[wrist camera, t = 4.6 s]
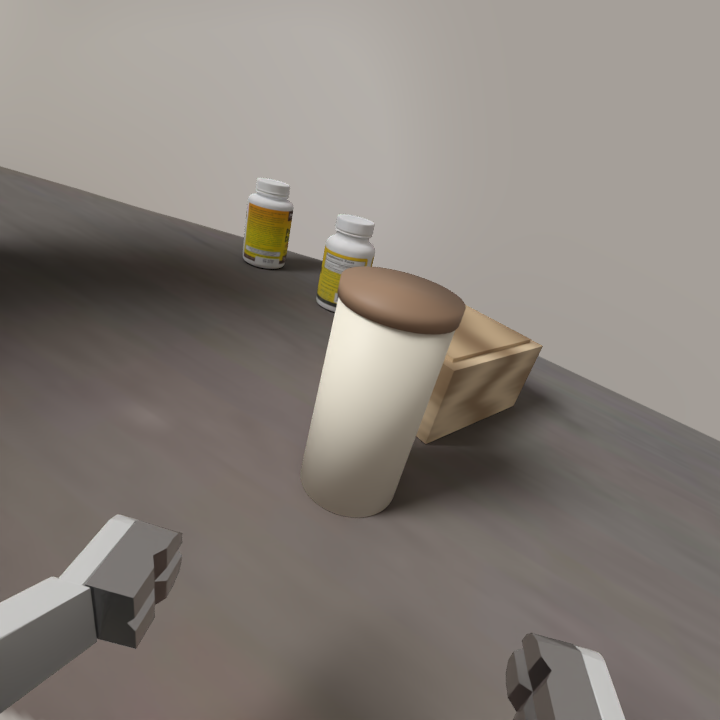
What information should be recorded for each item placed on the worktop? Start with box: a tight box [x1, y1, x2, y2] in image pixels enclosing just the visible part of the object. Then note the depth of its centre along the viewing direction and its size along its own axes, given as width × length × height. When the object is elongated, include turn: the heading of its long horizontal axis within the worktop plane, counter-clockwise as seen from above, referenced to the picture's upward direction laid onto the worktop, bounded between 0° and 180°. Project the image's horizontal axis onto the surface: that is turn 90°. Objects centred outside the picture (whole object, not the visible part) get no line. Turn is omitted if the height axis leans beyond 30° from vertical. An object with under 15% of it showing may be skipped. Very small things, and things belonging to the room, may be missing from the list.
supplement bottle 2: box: [316, 214, 375, 312], centre depth 46 cm, size 5×5×10 cm
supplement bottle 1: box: [243, 178, 293, 269], centre depth 53 cm, size 6×6×10 cm
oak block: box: [416, 305, 543, 444], centre depth 35 cm, size 12×12×6 cm
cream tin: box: [300, 266, 466, 518], centre depth 22 cm, size 6×6×12 cm
